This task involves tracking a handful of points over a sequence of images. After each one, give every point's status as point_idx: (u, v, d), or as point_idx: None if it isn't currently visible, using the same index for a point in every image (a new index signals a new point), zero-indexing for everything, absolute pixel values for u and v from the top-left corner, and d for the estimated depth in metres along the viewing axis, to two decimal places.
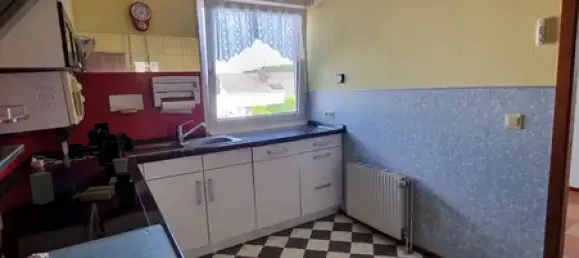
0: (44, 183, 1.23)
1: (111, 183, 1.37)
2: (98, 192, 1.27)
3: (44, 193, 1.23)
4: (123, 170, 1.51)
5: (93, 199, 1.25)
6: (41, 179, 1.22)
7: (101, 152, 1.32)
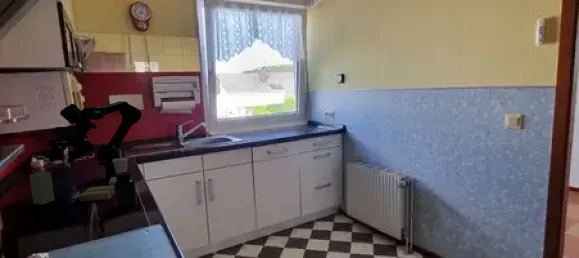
0: (44, 183, 1.23)
1: (111, 183, 1.36)
2: (98, 192, 1.26)
3: (44, 193, 1.23)
4: (123, 170, 1.51)
5: (93, 199, 1.25)
6: (41, 179, 1.22)
7: (70, 160, 1.30)
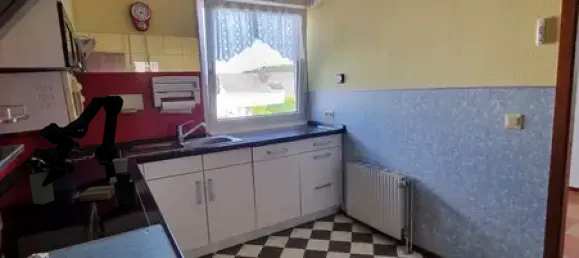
0: None
1: (112, 183, 1.36)
2: (98, 192, 1.26)
3: (44, 193, 1.23)
4: (123, 170, 1.51)
5: (93, 199, 1.25)
6: (41, 179, 1.22)
7: (45, 184, 1.23)
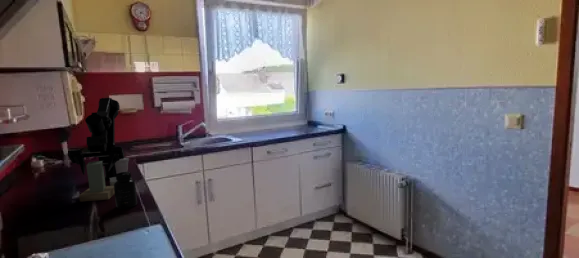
0: (102, 171, 1.29)
1: (113, 183, 1.36)
2: (98, 192, 1.26)
3: (103, 180, 1.29)
4: (123, 169, 1.51)
5: (93, 199, 1.25)
6: (101, 167, 1.27)
7: (109, 169, 1.29)
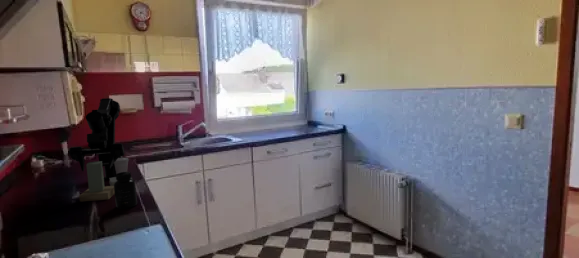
0: (101, 171, 1.29)
1: (113, 183, 1.36)
2: (98, 192, 1.26)
3: (102, 180, 1.29)
4: (123, 169, 1.51)
5: (93, 199, 1.25)
6: (100, 166, 1.28)
7: (110, 166, 1.30)
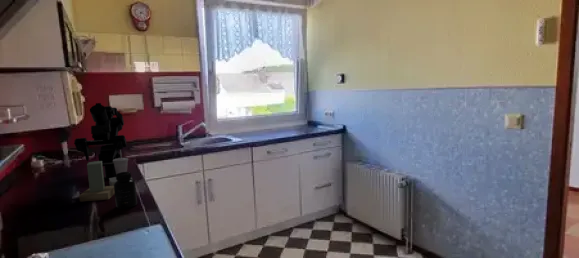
0: (102, 171, 1.29)
1: None
2: (98, 192, 1.26)
3: (103, 180, 1.29)
4: (123, 170, 1.51)
5: (93, 199, 1.25)
6: (101, 166, 1.28)
7: (113, 156, 1.38)
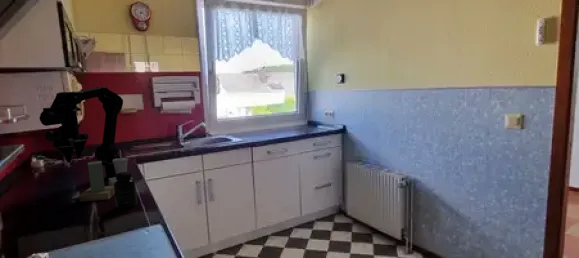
0: None
1: None
2: (98, 192, 1.26)
3: (103, 180, 1.30)
4: (123, 170, 1.51)
5: (93, 199, 1.25)
6: None
7: (68, 160, 1.32)
